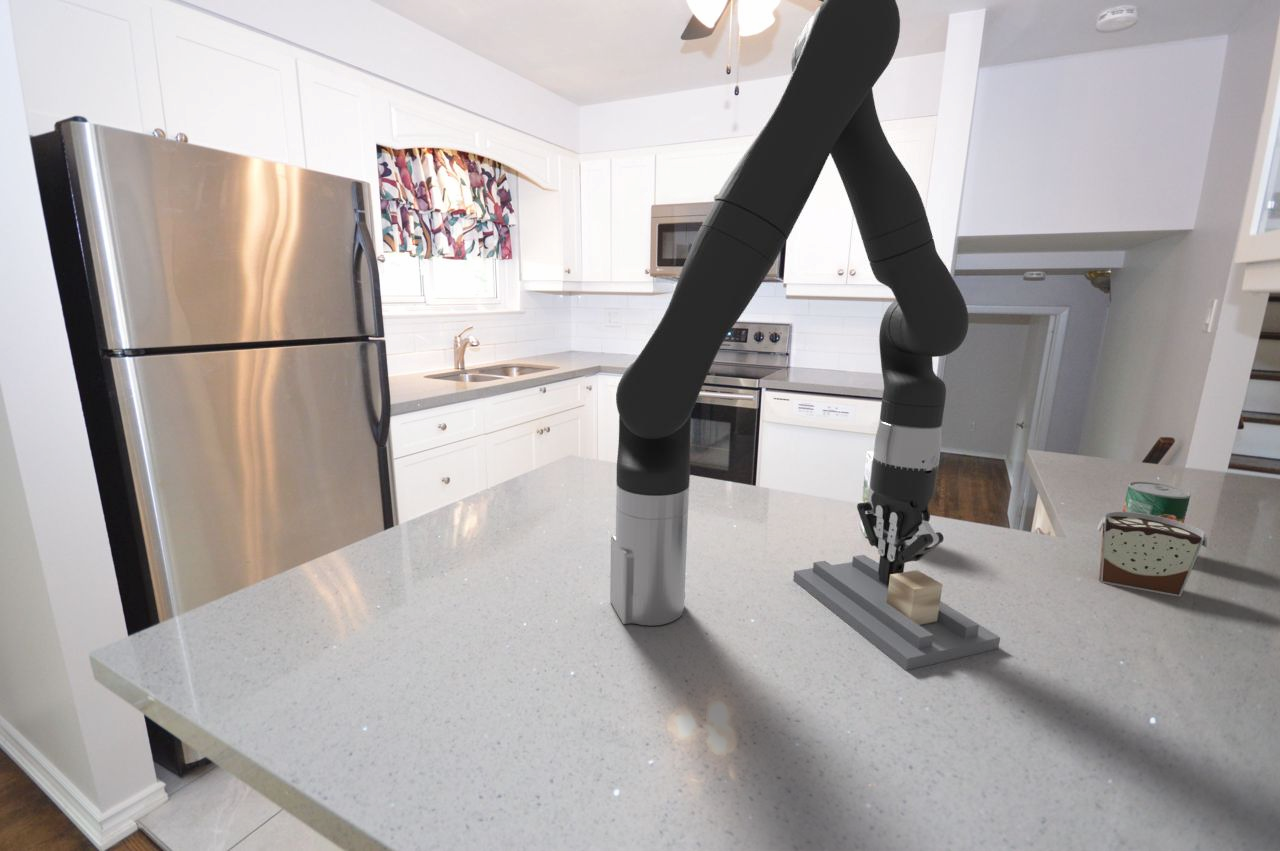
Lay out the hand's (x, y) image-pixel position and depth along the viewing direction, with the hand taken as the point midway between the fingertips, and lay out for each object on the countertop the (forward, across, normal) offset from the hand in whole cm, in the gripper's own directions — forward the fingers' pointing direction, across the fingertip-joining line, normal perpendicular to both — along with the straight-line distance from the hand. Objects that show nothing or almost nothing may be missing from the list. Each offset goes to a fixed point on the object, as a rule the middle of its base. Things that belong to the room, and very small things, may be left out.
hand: (889, 583), depth 76 cm
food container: (+4, +4, +43) cm, 43 cm away
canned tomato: (+4, -3, +58) cm, 58 cm away
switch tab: (+2, +4, 0) cm, 5 cm away
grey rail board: (+4, 0, 0) cm, 4 cm away
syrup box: (+4, -22, +18) cm, 29 cm away
